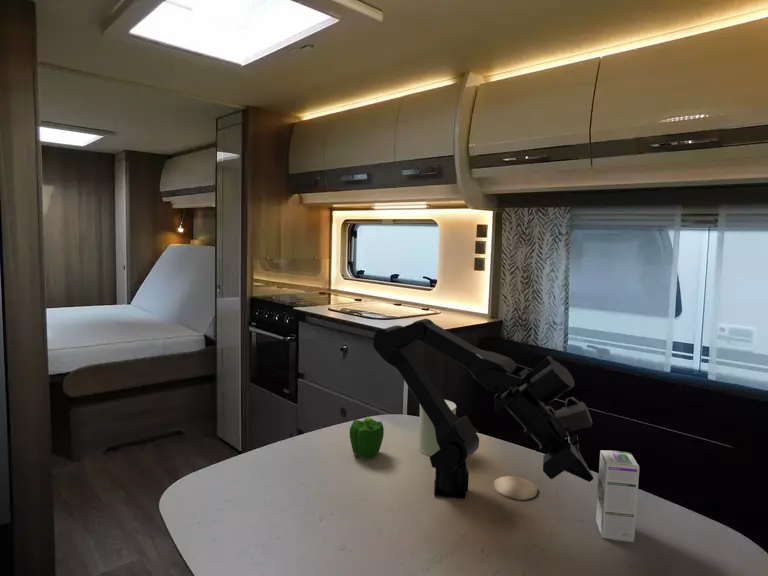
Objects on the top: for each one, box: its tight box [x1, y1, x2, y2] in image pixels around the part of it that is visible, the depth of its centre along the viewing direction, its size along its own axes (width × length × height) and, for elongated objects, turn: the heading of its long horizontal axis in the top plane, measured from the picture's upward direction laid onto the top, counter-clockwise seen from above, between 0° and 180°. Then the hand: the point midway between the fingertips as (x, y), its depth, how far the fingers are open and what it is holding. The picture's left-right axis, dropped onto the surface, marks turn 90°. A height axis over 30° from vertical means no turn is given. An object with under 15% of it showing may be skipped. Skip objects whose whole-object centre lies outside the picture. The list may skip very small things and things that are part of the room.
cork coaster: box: [493, 475, 538, 501], centre depth 108 cm, size 9×9×1 cm
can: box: [417, 399, 457, 457], centre depth 126 cm, size 9×9×12 cm
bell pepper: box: [349, 416, 385, 460], centre depth 122 cm, size 8×8×10 cm
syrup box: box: [595, 449, 640, 543], centre depth 92 cm, size 6×6×14 cm
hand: (591, 479), depth 93 cm, fingers closed
